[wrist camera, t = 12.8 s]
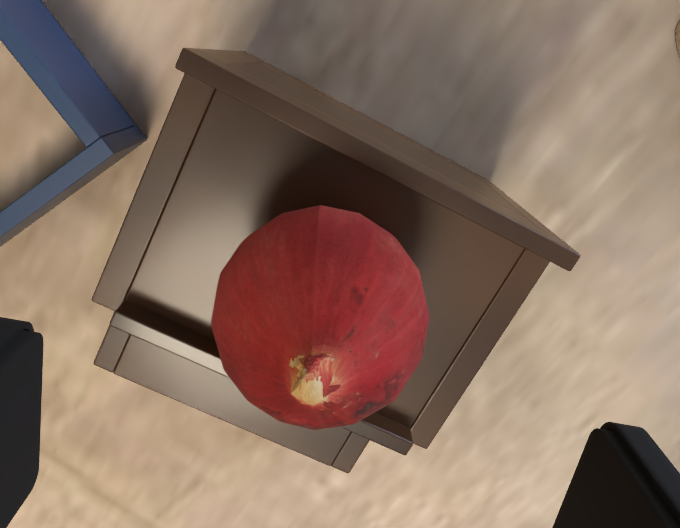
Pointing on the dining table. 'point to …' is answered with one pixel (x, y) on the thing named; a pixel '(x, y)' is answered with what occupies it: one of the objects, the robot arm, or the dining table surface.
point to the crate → (63, 109)
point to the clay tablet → (678, 37)
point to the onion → (320, 317)
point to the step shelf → (294, 194)
